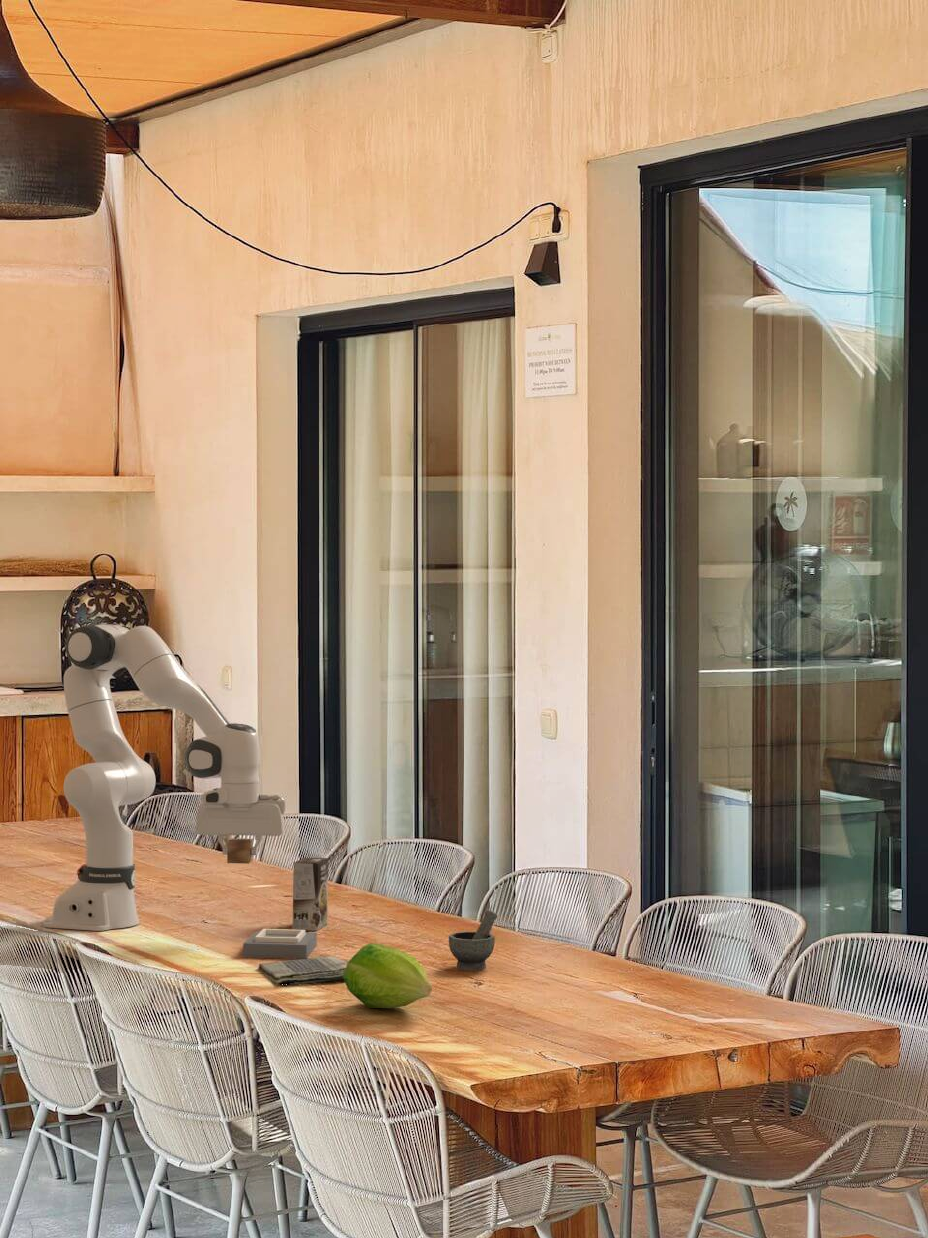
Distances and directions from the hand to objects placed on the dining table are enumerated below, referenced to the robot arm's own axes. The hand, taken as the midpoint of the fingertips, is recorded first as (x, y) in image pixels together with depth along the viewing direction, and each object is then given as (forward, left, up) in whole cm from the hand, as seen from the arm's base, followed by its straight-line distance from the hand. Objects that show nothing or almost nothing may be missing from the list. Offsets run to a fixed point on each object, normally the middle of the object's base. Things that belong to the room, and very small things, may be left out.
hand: (240, 854), depth 415 cm
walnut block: (0, 0, -2) cm, 2 cm away
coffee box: (+14, +16, -20) cm, 29 cm away
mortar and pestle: (+56, -24, -20) cm, 64 cm away
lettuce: (+43, -65, -20) cm, 80 cm away
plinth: (+12, -13, -19) cm, 26 cm away
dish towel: (+22, -36, -20) cm, 47 cm away
